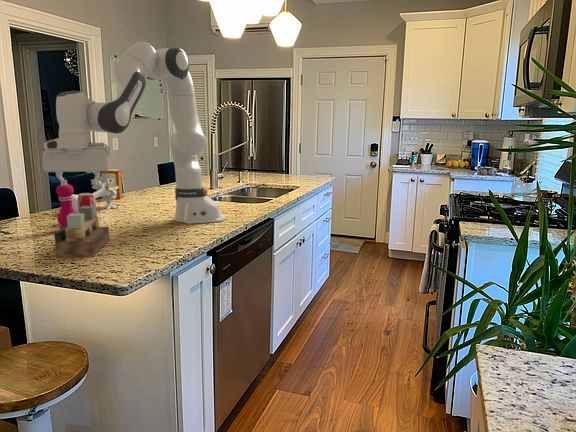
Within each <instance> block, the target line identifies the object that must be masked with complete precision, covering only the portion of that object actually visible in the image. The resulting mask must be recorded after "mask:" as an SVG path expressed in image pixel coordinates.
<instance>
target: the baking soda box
mask: <svg viewBox="0 0 576 432" xmlns="http://www.w3.org/2000/svg"><path fill="white" fill-rule="evenodd" d="M103 174H106V178H107V177H108V176H112V177H111V178H109V179H108V180H109V181H110V182H111V181H112V179H114V180H115V183H114V185H117V186H118V187H119V188H118V189H115V190H116V192H117V193H116V194H114V195H113V196H115V197H116V198H115V199H112V200H115V201H116V200H117V201H118V200H121V199H123V198H124V193H123V181H122V180H123V179H122V170H121V169H109V170H108V171H100V175H99V176H100V177H101V178H102V175H103ZM108 180H107V181H108ZM101 183H102V184H103V183H104V182H102V181H101ZM105 183H106V181H105ZM106 191H107V192H108V190H106ZM112 192H113V191H112ZM102 198H103V197H101V199H102ZM112 200H111V199H110V201H112Z"/></svg>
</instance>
